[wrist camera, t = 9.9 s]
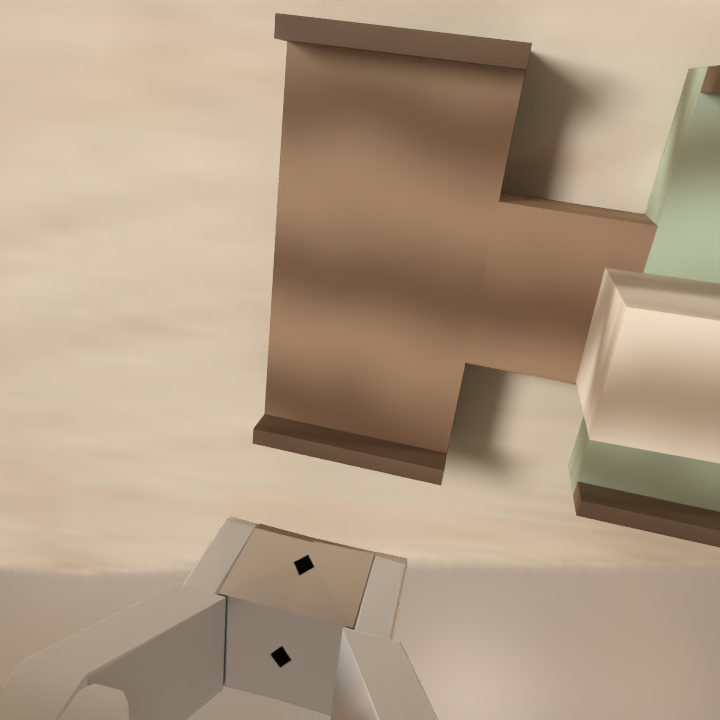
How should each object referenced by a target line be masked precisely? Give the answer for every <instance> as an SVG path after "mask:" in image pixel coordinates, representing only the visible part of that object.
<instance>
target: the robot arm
mask: <svg viewBox="0 0 720 720" xmlns="http://www.w3.org/2000/svg"><path fill="white" fill-rule="evenodd" d="M406 568H407V559H406V558H402V557H397V556H393V555H388V554H384V553H379V552H377V553H376V552H372V551H368V550H364V549H359V548H355V547H351V546H346V545H342V544H338V543H333V542H329V541H325V540H320V539H316V538H312V537H308V536H304V535H301V534H297V533H293V532H289V531H285V530H282V529H278V528H274V527H270V526H267V525H263V524H256V523H253V522H249V521H245V520H241V519H238V518H234V517H229V518H228V519H227V520H225V521H224V522H223V523H222V525H221V526H220V528H219V529H218V531H217V533H216V534H215V536H214V537H213V539H212V540H211V542H210V543H209V545H208V546H207V548H206V550H205V551H204V553H203V554H202V556H201V557H200V559H199V560H198V562H197V563H196V565H195V567H194V568H193V570H192V571H191V573H190V574H189V576H188V577H187V579H186V580H185V582H184V584H183V585H182V586H181V585H177V584H171V585H170V586H168V587H166V588H164V589H162V590H160V591H158V592H156V593H154V594H152V595H150V596H148V597H146V598H144V599H142V600H140V601H138V602H136V603H134V604H132V605H130V606H128V607H126V608H124V609H122V610H120V611H118V612H116V613H114V614H112V615H110V616H108V617H106V618H104V619H102V620H100V621H98V622H96V623H94V624H92V625H90V626H88V627H86V628H84V629H82V630H80V631H78V632H76V633H74V634H72V635H70V636H68V637H66V638H64V639H62V640H60V641H58V642H56V643H54V644H53V645H50V646H48V647H46V648H44V649H43V650H41V651H38V652H36V653H34V654H32V655H30V656H29V657H27V658H25V659H23V660H22V661H21V662H20V664H19V665H18V666H17V667H16V668H15V670H14V671H13V672H12V673H11V674H10V676H9V677H8V678H7V679H6V680H5V681H4V683H3V684H2V685H1V686H0V720H186V719H187V718H189V717H190V716H191V715H192V714H193V713H195V712H196V711H197V710H198V709H200V708H201V707H202V706H203V705H205V704H206V703H207V702H208V701H209V700H211V699H212V698H213V697H215V696H216V695H217V694H218V693H220V692H221V691H222V690H223V686H225V687H229V688H234V689H238V690H242V691H246V692H250V693H254V694H258V695H262V696H266V697H270V698H274V699H278V700H281V701H284V702H287V703H291V704H294V705H297V706H300V707H303V708H307V709H310V710H313V711H317V712H320V713H323V714H326V715H329V716H331V720H438V718H437V716H436V714H435V712H434V710H433V708H432V706H431V704H430V702H429V700H428V698H427V695H426V693H425V691H424V689H423V687H422V685H421V683H420V681H419V679H418V677H417V675H416V672H415V670H414V668H413V666H412V664H411V662H410V660H409V658H408V656H407V654H406V652H405V649H404V648H403V645H402V643H401V642H398V641H394V640H393V637H394V631H395V625H396V621H397V616H398V610H399V605H400V600H401V594H402V589H403V584H404V579H405V573H406Z"/></svg>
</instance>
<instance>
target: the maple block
mask: <svg viewBox="0 0 720 720" xmlns="http://www.w3.org/2000/svg"><path fill="white" fill-rule="evenodd" d="M576 384H577V388H578V392H579V397H580V401H581V405H582V409H583V414H584V418H585V422H586V427H587V431H588V435H589V440H594V441H599V442H605V443H610V444H615V445H621V446H626V447H632V448H637V449H643V450H648V451H654V452H659V453H665V454H670V455H676V456H681V457H687V458H692V459H698V460H703V461H709V462H714V463H720V284H719V283H712V282H705V281H698V280H691V279H684V278H677V277H670V276H662V275H655V274H648V273H641V272H634V271H627V270H620V269H613V268H605V271H604V275H603V278H602V282H601V286H600V290H599V294H598V298H597V302H596V305H595V309H594V313H593V317H592V321H591V325H590V329H589V333H588V336H587V340H586V344H585V348H584V352H583V356H582V360H581V363H580V367H579V371H578V375H577V379H576Z"/></svg>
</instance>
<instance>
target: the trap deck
mask: <svg viewBox="0 0 720 720" xmlns="http://www.w3.org/2000/svg"><path fill="white" fill-rule="evenodd" d="M274 38H275V39H280V40H284V41H287V55H286V72H285V88H284V105H283V121H282V137H281V154H280V170H279V187H278V203H277V219H276V236H275V252H274V269H273V285H272V301H271V318H270V334H269V351H268V367H267V383H266V400H265V414H264V416H263V417H262V418H261V420H260V421H259V422H258V424H257V425H256V426H255V428H254V429H253V444H258V445H262V446H267V447H271V448H276V449H280V450H285V451H289V452H294V453H298V454H302V455H307V456H311V457H316V458H320V459H325V460H329V461H334V462H338V463H343V464H347V465H352V466H356V467H361V468H365V469H370V470H374V471H379V472H383V473H388V474H392V475H397V476H401V477H406V478H410V479H415V480H419V481H424V482H428V483H433V484H437V485H441V483H442V478H443V473H444V468H445V462H446V456H447V451H448V446H449V441H450V436H451V431H452V426H453V421H454V416H455V412H456V407H457V402H458V397H459V392H460V387H461V382H462V377H463V373H464V368H465V363H469V364H474V365H479V366H484V367H490V368H495V369H500V370H505V371H510V372H516V373H521V374H526V375H531V376H536V377H542V378H547V379H552V380H557V381H562V382H567V383H573V384H576V379H577V375H578V371H579V367H580V363H581V360H582V356H583V352H584V348H585V344H586V340H587V336H588V333H589V329H590V325H591V321H592V317H593V313H594V309H595V305H596V302H597V298H598V294H599V290H600V286H601V282H602V278H603V275H604V271H605V268H613V269H620V270H627V271H634V272H641V273H648V274H655V275H662V276H670V277H677V278H684V279H691V280H698V281H705V282H712V283H719V284H720V65H719V66H710V67H701V68H692V69H689V71H688V75H687V78H686V81H685V84H684V88H683V91H682V94H681V98H680V101H679V104H678V107H677V111H676V114H675V117H674V121H673V124H672V127H671V131H670V134H669V137H668V140H667V144H666V147H665V150H664V154H663V157H662V160H661V163H660V167H659V170H658V173H657V177H656V180H655V183H654V187H653V190H652V193H651V196H650V200H649V203H648V206H647V210H646V213H645V214H638V213H632V212H625V211H619V210H612V209H606V208H599V207H592V206H586V205H579V204H573V203H566V202H560V201H553V200H546V199H540V198H533V197H527V196H520V195H513V194H507V193H500V192H501V188H502V183H503V178H504V173H505V168H506V163H507V158H508V153H509V149H510V144H511V139H512V134H513V129H514V124H515V119H516V114H517V110H518V105H519V100H520V95H521V90H522V85H523V80H524V76H525V71H526V69H527V65H528V60H529V55H530V51H531V46H532V43H527V42H518V41H509V40H501V39H492V38H484V37H475V36H467V35H458V34H450V33H441V32H432V31H424V30H415V29H407V28H398V27H390V26H381V25H373V24H364V23H355V22H347V21H338V20H330V19H321V18H313V17H304V16H295V15H287V14H278V13H276V15H275V34H274ZM569 472H570V478H571V485H572V491H573V497H574V503H575V510H576V515H577V516H581V517H586V518H590V519H595V520H599V521H604V522H608V523H613V524H617V525H622V526H626V527H631V528H635V529H640V530H644V531H649V532H653V533H658V534H662V535H667V536H671V537H676V538H680V539H685V540H689V541H694V542H698V543H703V544H707V545H712V546H716V547H720V463H714V462H709V461H703V460H698V459H692V458H687V457H681V456H676V455H670V454H665V453H659V452H654V451H648V450H643V449H637V448H632V447H626V446H621V445H615V444H610V443H605V442H599V441H594V440H589V435H588V431H587V427H586V422H585V418H584V417H583V420H582V424H581V427H580V430H579V434H578V437H577V440H576V444H575V447H574V450H573V453H572V457H571V460H570V463H569Z"/></svg>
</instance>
